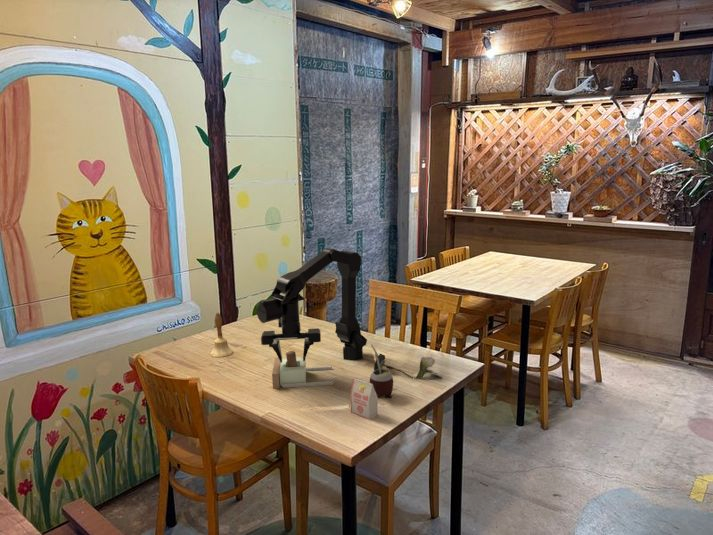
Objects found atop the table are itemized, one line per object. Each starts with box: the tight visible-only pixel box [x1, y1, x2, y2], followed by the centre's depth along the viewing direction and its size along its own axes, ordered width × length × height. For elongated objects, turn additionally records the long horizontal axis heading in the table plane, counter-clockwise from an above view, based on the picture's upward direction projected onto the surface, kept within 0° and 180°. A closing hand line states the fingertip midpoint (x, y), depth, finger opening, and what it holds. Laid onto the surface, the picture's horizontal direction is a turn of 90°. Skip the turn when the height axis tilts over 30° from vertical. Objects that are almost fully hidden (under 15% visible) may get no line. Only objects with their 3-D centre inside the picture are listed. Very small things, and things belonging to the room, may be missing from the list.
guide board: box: [271, 357, 335, 389], centre depth 168 cm, size 20×13×6 cm, turn 95°
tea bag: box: [349, 377, 378, 421], centre depth 146 cm, size 4×7×10 cm, turn 50°
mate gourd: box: [369, 344, 394, 400], centre depth 155 cm, size 8×8×15 cm
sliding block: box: [279, 357, 307, 387], centre depth 168 cm, size 8×10×5 cm
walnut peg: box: [285, 350, 297, 367], centre depth 167 cm, size 3×3×8 cm
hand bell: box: [210, 312, 234, 358], centre depth 193 cm, size 8×8×16 cm
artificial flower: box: [373, 353, 442, 380], centre depth 171 cm, size 9×22×10 cm, turn 65°
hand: (292, 361), depth 167 cm, fingers open, 7 cm apart
